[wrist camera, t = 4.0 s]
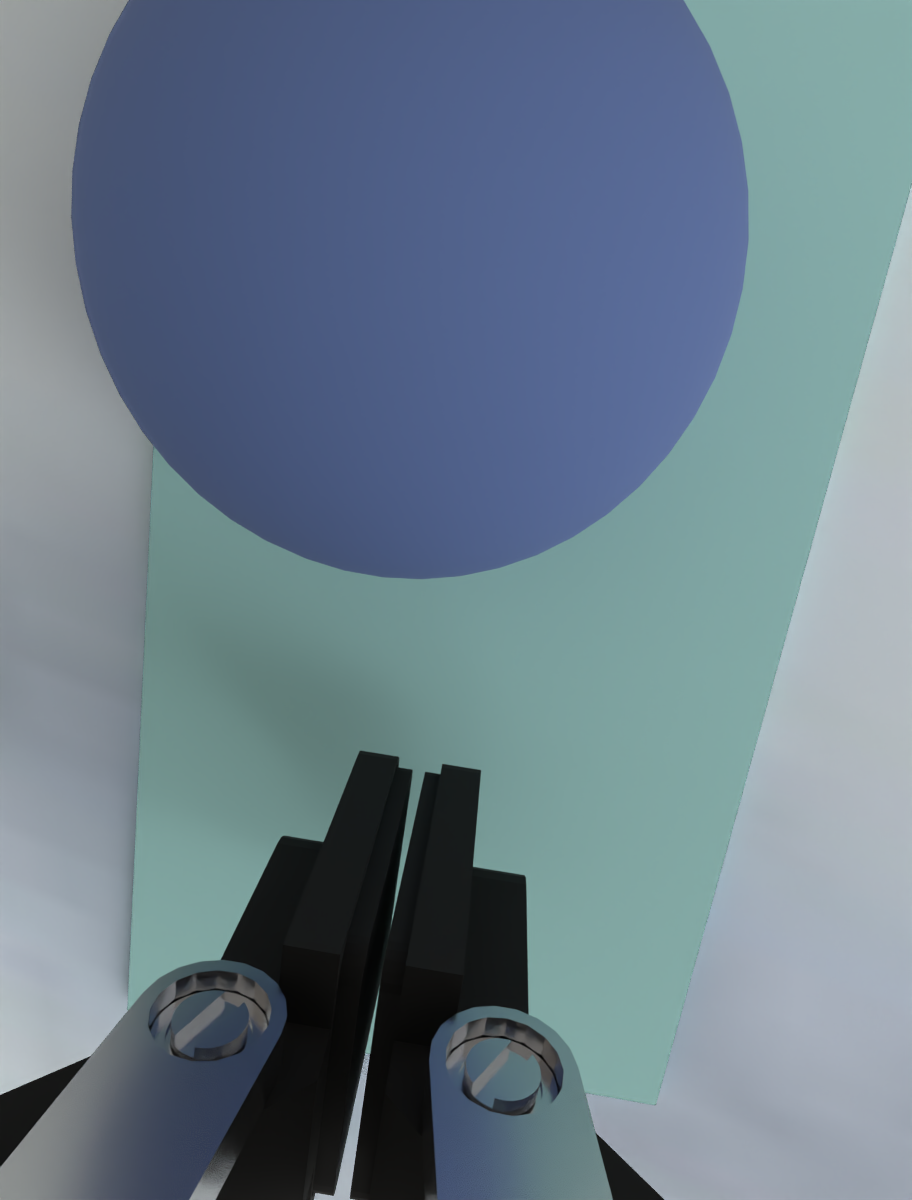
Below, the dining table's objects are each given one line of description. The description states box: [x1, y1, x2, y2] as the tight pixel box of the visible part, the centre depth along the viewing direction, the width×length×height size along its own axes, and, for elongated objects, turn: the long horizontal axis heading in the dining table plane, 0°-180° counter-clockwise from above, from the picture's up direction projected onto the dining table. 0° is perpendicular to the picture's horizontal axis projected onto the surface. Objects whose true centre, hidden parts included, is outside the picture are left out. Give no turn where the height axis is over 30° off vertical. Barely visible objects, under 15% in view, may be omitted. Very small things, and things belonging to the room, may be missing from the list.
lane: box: [127, 0, 912, 1105], centre depth 10 cm, size 9×30×1 cm, turn 171°
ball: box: [71, 0, 749, 579], centre depth 8 cm, size 6×6×6 cm
